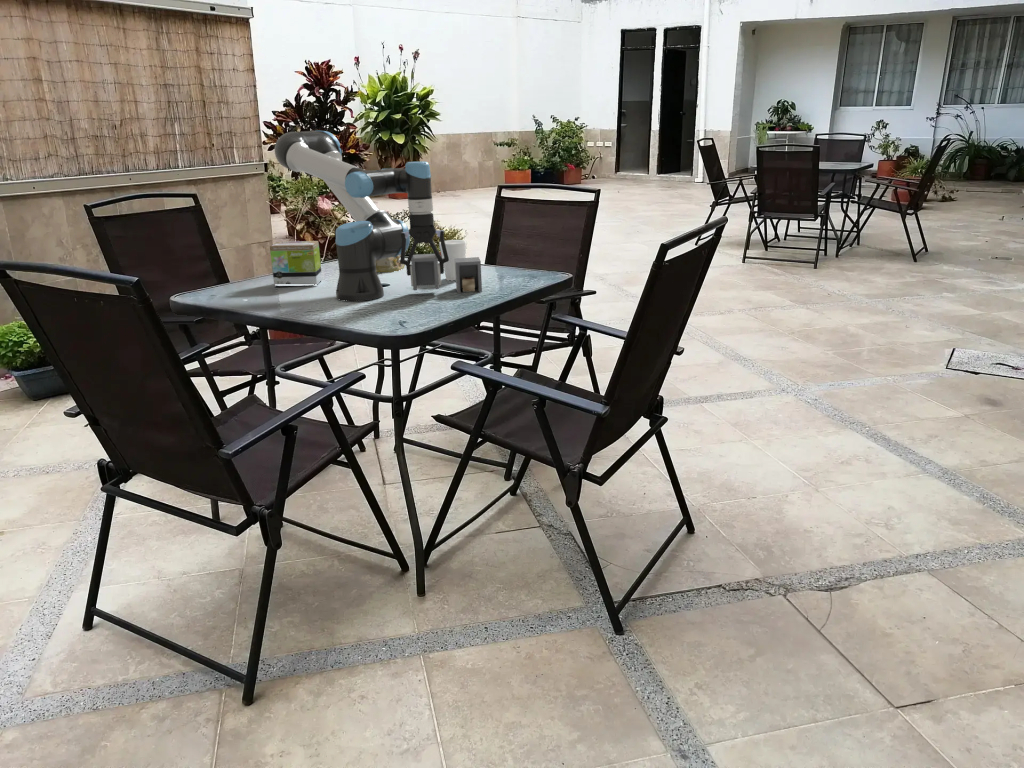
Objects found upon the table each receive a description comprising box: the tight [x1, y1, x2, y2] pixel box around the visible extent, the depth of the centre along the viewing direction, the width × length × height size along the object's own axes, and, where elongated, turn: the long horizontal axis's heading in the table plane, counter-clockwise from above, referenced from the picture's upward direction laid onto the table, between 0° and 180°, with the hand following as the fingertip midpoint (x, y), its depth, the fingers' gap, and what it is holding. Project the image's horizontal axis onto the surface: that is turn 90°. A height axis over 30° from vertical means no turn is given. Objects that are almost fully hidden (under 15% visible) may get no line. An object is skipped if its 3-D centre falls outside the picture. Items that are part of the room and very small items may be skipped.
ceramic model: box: [375, 255, 406, 273], centre depth 296 cm, size 14×11×10 cm
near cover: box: [410, 253, 440, 291], centre depth 250 cm, size 8×8×10 cm
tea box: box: [269, 240, 323, 285], centre depth 273 cm, size 15×10×15 cm, turn 92°
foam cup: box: [438, 239, 468, 282], centre depth 273 cm, size 10×9×13 cm
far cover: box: [455, 256, 483, 294], centre depth 255 cm, size 8×8×10 cm
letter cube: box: [462, 277, 476, 292], centre depth 256 cm, size 4×4×4 cm
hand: (426, 284), depth 251 cm, fingers closed on near cover, 8 cm apart
